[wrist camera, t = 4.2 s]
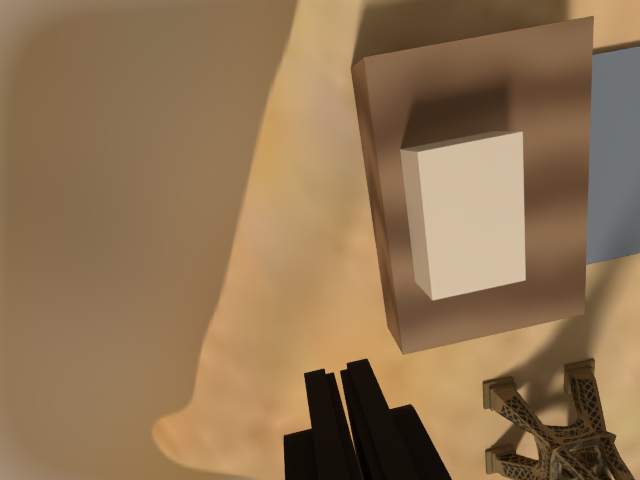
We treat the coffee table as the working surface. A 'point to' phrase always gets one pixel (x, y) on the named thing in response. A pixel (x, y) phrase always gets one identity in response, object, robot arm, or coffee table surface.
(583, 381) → the eiffel tower
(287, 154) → the coffee table surface
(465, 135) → the deck
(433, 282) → the beige rectangular block
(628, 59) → the mat
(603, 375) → the coffee table surface
